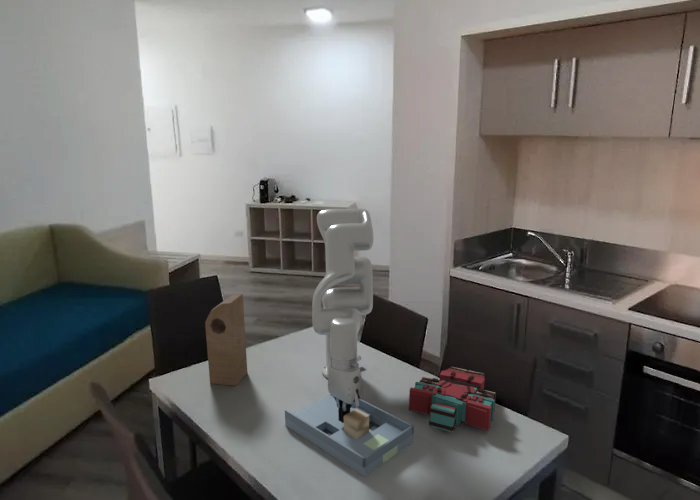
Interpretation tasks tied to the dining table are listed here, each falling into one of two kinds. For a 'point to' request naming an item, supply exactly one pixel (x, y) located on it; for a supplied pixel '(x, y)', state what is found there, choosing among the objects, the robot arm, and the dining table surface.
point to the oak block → (356, 423)
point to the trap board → (360, 453)
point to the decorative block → (227, 342)
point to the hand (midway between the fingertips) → (344, 419)
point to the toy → (454, 399)
